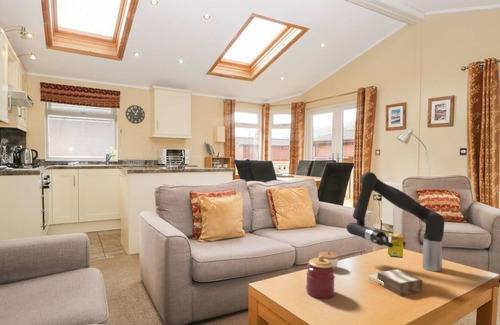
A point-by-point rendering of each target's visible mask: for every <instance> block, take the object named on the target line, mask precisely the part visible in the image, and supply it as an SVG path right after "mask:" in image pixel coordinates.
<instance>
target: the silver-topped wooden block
mask: <svg viewBox="0 0 500 325" xmlns="http://www.w3.org/2000/svg"><path fill="white" fill-rule="evenodd" d="M377 279H379V280H381V281H383V282H384V286H382V287H383V288H384V289H387V290H388V291H390V292H392V293H394V294H396V296H400V297H402V296H406V295H407V296H408V295H413V294H418V293H421V292H422V293H423V280H422V278H419V277H416V276H414V275H412V274H409V273H408V272H405V271H403V270H401V269H391V270H385V271H379V272H378V273H377Z"/></svg>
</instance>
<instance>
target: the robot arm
mask: <svg viewBox="0 0 500 325" xmlns="http://www.w3.org/2000/svg"><path fill="white" fill-rule="evenodd" d="M359 181H360V183H361V188H360V192H359V196H358V198H357V201H356V203H355V206H354V211H353V214H352V218H353V219H354V220H356V222H349V223H348V224H347V225H346V230H347V232H348V233H349V234H351V235H353V236H358V237H360V238H363V239H364V240H367V241H369V242H371V243H373V244H376V245H378V246H385V247H387V248H388V247H393V243H390V242H388V238H389V235H387V234H386V232H384V231H382V230H379V229H376V228H371V227H368V226H366V223H365V222H366V220H365V219H366V214H367V211H368V207H369V203H370V199H371V196H372V193H373V192H375V193H377V194H378V195H380V196H381V197H382V198H383V199H385V200H386V201H388V202H390V203H391V204H393V205H394V206H396V207H397V208H399V209H400V210H403V211H405V212H407V213H409V214H412V215H413V216H415V217H416V218H418V219H419V220H420V221H422V222H423V224H425V229H424V231H425V232H424V233H423V242H422V244H423V247H422V268H423V269H425V270H427V271H431V272H441V270H443V253H442V252H443V251H442V250H443V249H442V248H443V237H444V234H445V233H444V231H445V218H444V217H443V216H442V215H441V214H440V213H438V212H437V211H434V210H431V209H429V208H427V207H426V206H424V205H422V204H420V203H419V202H417V200H415V199H414V198H413V197H411V196H410V195H408V194H407V193H405V192H403V191H401V190H400V189H398V188H396V187H393V186H391V185H389V184H386V183H385V182H383V181H381V179H379V178H378V177H377V175H376V174H375V173H374V172H370V171H369V172H365V173H363V174H362V175H361V176H360V180H359ZM405 246H406V241H404V240H403V247H405Z"/></svg>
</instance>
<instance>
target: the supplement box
mask: <svg viewBox="0 0 500 325" xmlns="http://www.w3.org/2000/svg"><path fill="white" fill-rule="evenodd" d="M388 236H389V238H388V242H390V243H393V247H388V246H387V254H388V255H389V257H390V258H398V259H403V256H404V246H403V241H404V238H405V237H404V235H402V234H400V233H388Z"/></svg>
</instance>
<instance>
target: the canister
mask: <svg viewBox="0 0 500 325" xmlns="http://www.w3.org/2000/svg"><path fill="white" fill-rule="evenodd" d="M335 268H336V267H335ZM335 268H334V267H333V263H332V262H331V261H330V260H328V259H326V258H324V257H323V256H321V255H320V256H319V255H318V257H314V258H311V259H310V260H308V264H307V265H306V269H307V271H306V285H305V289H306V293H307V294H308V295H309V296H311V297H313V298H316V299H324V300H325V299H330V298H332V297H333V296H334V295H335V278H336V276H335V274H334V273H335V271H336V269H335Z"/></svg>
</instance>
